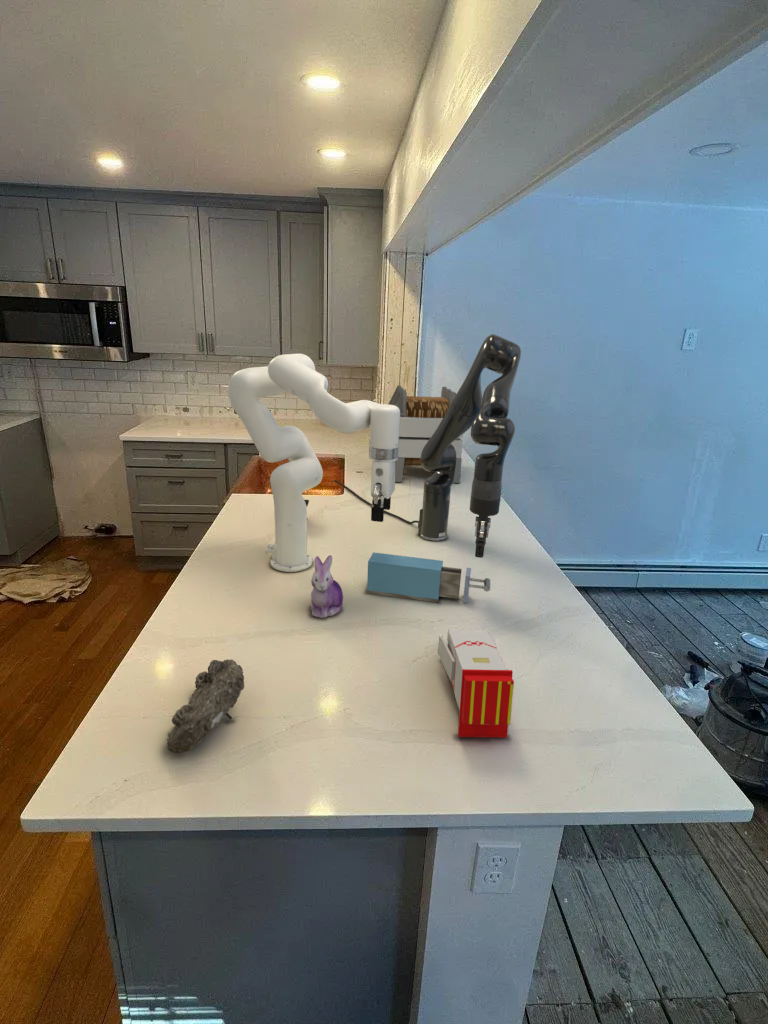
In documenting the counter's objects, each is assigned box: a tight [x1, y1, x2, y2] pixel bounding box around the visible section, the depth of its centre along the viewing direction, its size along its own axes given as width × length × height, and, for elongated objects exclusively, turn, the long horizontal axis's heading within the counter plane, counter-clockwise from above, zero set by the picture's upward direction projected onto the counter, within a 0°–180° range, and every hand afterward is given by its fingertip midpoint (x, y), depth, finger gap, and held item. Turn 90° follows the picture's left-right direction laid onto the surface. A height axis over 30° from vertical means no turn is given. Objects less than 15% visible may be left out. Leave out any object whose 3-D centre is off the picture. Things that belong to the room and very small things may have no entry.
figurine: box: [310, 554, 344, 618], centre depth 145 cm, size 9×10×15 cm
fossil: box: [166, 658, 245, 754], centre depth 106 cm, size 22×10×15 cm
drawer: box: [439, 566, 491, 603], centre depth 155 cm, size 24×5×8 cm, turn 79°
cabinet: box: [366, 551, 444, 603], centre depth 157 cm, size 20×6×10 cm, turn 79°
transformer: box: [388, 384, 464, 484], centre depth 268 cm, size 34×33×41 cm
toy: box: [437, 628, 515, 738], centre depth 117 cm, size 12×13×30 cm
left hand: (380, 514), depth 153 cm, fingers open, 9 cm apart
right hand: (479, 556), depth 151 cm, fingers closed
